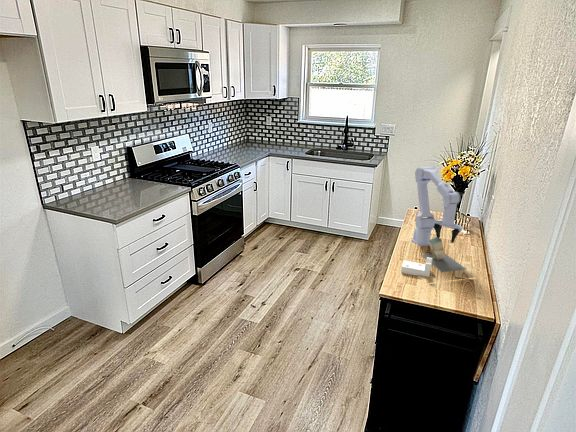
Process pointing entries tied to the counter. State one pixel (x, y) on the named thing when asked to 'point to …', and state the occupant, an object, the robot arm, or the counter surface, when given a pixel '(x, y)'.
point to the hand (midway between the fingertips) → (445, 240)
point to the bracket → (417, 267)
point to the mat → (445, 263)
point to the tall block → (437, 248)
